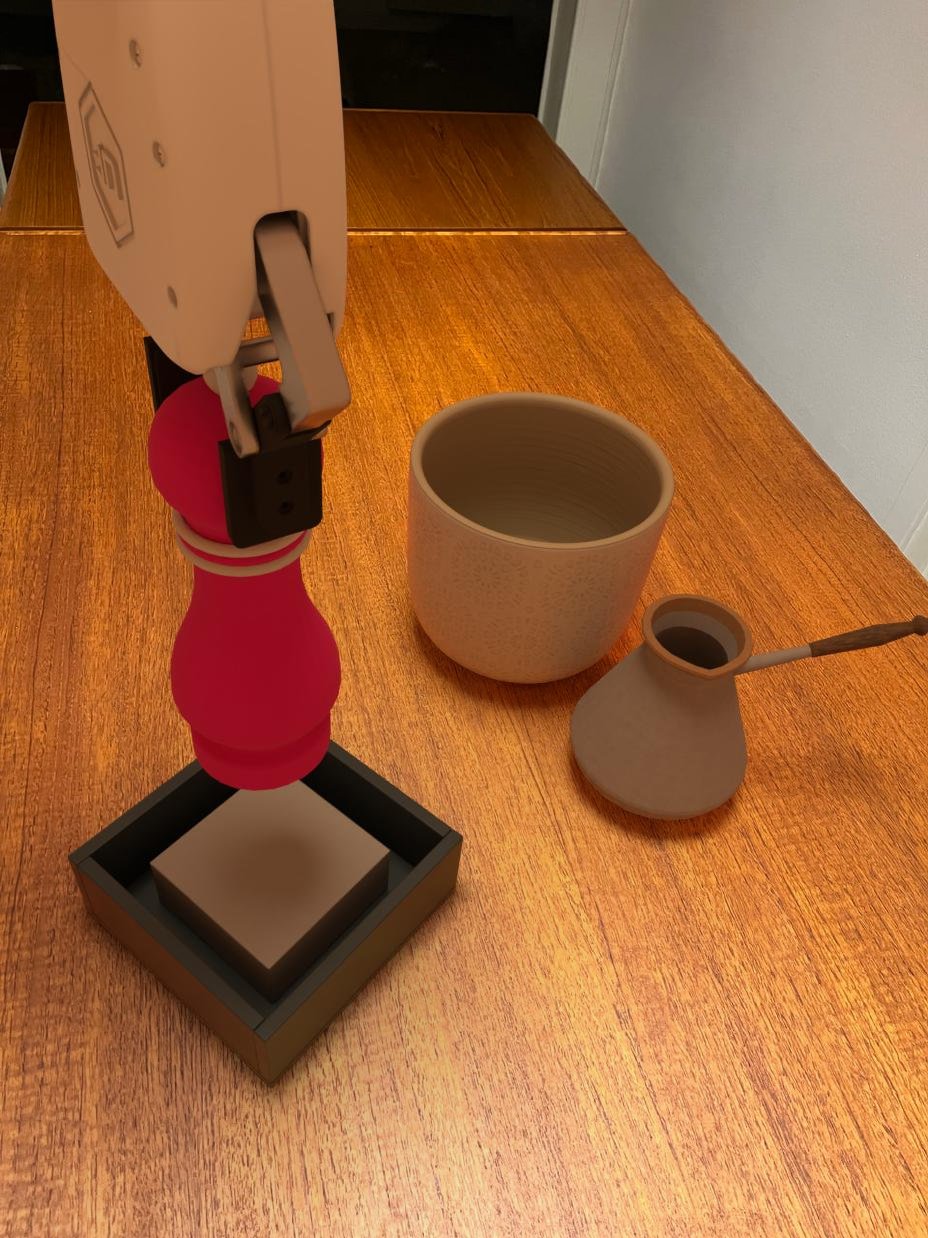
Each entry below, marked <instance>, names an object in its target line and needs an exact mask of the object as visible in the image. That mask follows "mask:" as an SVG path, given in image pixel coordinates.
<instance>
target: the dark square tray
mask: <svg viewBox="0 0 928 1238" xmlns="http://www.w3.org/2000/svg"><path fill="white" fill-rule="evenodd" d="M299 780H300V781H301V782H302V783H304V784H305V785H306V786H307V787H309V788H310V789H311V790H313V791H314V792H315V793H317V794H318V795H319V796H320V797H322V798H323V799H324V800H326V801H327V802H328V803H329V804H331V805H332V806H333V807H335V808H336V809H337V810H339V811H340V812H341V813H342V814H344V815H345V816H346V817H348V818H349V819H350V820H352V821H353V822H354V823H355V824H357V825H358V826H359V827H361V828H362V829H363V830H364V831H366V832H367V833H368V834H370V835H371V836H372V837H374V838H375V839H376V840H377V841H379V842H380V843H381V844H383V845H384V846H385V847H387V848H388V849H389V850H390V862H389V878H388V888H387V889H386V890H385V891H384V892H383V893H382V894H381V896H380V897H379V898H378V899H377V900H376V901H375V902H374V903H373V904H372V905H371V906H370V907H369V908H368V909H367V910H366V911H365V912H364V913H363V914H362V915H361V916H360V917H359V918H358V919H357V920H356V921H355V922H354V923H353V924H352V925H351V926H350V927H349V928H348V929H347V930H346V931H345V932H344V933H343V934H342V935H341V936H340V937H339V938H338V939H337V940H336V941H335V942H334V943H333V944H332V945H331V946H330V947H329V948H328V949H327V950H326V951H325V952H324V953H323V954H322V955H321V956H320V957H319V958H318V959H317V960H316V961H315V962H314V963H313V964H312V965H311V966H310V967H309V968H308V969H307V970H306V971H305V972H304V973H303V974H302V975H301V976H300V977H299V978H298V979H297V980H296V981H295V982H294V983H293V984H292V985H291V987H290V988H289V989H288V990H287V991H286V992H285V993H284V994H283V995H282V996H281V997H280V998H279V999H278V1000H277V1001H276V1002H275V1003H274V1004H272V1003H271V1002H269V1001H268V1000H267V999H266V998H265V997H264V996H263V995H262V994H261V993H260V992H259V991H257V990H256V989H255V988H254V987H253V986H252V985H251V984H250V983H249V982H248V981H246V980H245V979H244V978H243V977H242V976H241V975H240V974H239V973H238V972H237V971H236V970H234V969H233V968H232V967H231V966H230V965H229V964H228V963H227V962H226V961H225V960H224V959H222V958H221V957H220V956H219V955H218V954H217V953H216V952H215V951H214V950H213V949H212V948H210V947H209V946H208V945H207V944H206V943H205V942H204V941H203V940H202V939H201V938H199V937H198V936H197V935H196V934H195V933H194V932H193V931H192V930H191V929H190V928H189V927H187V926H186V925H185V924H184V923H183V922H182V921H181V920H180V919H179V918H178V917H177V916H175V915H174V914H173V913H172V912H171V911H170V910H169V909H168V908H167V907H166V906H164V905H163V904H162V903H161V902H160V900H159V896H158V892H157V888H156V885H155V881H154V877H153V873H152V869H151V865H150V862H151V861H153V860H154V859H155V858H156V857H158V856H159V855H160V854H161V853H162V852H164V851H165V850H166V849H167V848H169V847H170V846H171V845H172V844H174V843H175V842H176V841H177V840H178V839H180V838H181V837H182V836H183V835H185V834H186V833H187V832H188V831H190V830H191V829H192V828H193V827H195V826H196V825H197V824H198V823H199V822H201V821H202V820H203V819H204V818H206V817H207V816H208V815H209V814H211V813H212V812H213V811H214V810H216V809H217V808H218V807H219V806H220V805H222V804H223V803H224V802H225V801H227V800H228V799H229V798H230V797H232V796H233V795H234V794H235V793H237V792H238V791H239V790H240V789H237V788H234V787H231V786H229V785H226V784H224V783H221V782H219V781H218V780H216V779H215V778H213V777H212V776H211V775H210V774H208V773H207V772H206V771H205V770H204V768H203V767H202V766H201V765H200V763H199V761H198V760H197V757H195V759H194V760H193V761H190V763H188V764H187V765H186V766H185V767H183V768H182V769H180V770H179V771H178V772H177V773H175V774H173V775H172V776H171V777H170V778H168V779H167V780H166V781H164V783H162V784H161V785H159V786H158V787H157V788H156V789H154V790H152V792H150V793H149V794H148V795H146V796H145V797H144V798H142V799H140V801H139V802H137V803H136V804H134V805H133V806H131V808H129V809H128V810H127V811H125V812H124V813H122V814H121V815H120V816H118V817H117V818H116V819H115V820H113V821H112V822H111V823H109V824H107V826H105V827H104V828H103V829H102V830H100V831H99V832H97V833H96V834H95V835H93V836H92V837H91V838H90V839H87V841H86V842H84V843H83V844H82V845H80V846H78V848H76V849H75V850H74V851H72V852H71V853H70V854H69V855H67V860H68V862H69V865H70V867H71V870H72V873H73V876H74V878H75V882H76V884H77V887H78V890H79V892H80V895H81V898H82V900H83V903H84V906H85V909H86V912H87V913H88V914H89V915H90V916H92V918H94V919H95V920H96V922H98V923H99V924H100V925H101V926H102V927H103V928H104V929H105V930H106V931H107V932H108V933H109V934H110V935H111V936H113V938H115V940H117V942H119V943H120V944H121V945H122V946H123V948H125V949H126V950H127V951H128V952H129V953H130V954H131V955H132V956H133V957H134V958H135V959H136V960H137V961H138V962H139V963H140V964H141V965H142V966H144V967H145V968H146V969H147V970H148V972H150V973H151V974H152V976H154V977H155V978H156V979H157V980H158V981H159V982H160V983H161V984H162V985H163V986H164V987H165V988H166V989H168V991H170V992H171V994H173V996H175V997H176V999H178V1000H179V1002H181V1003H182V1005H184V1006H185V1007H186V1008H187V1009H188V1010H189V1011H190V1012H191V1013H192V1014H193V1015H194V1016H196V1018H198V1020H199V1021H200V1022H202V1023H203V1024H204V1025H205V1026H206V1027H207V1028H208V1029H209V1030H210V1031H211V1032H212V1033H213V1034H214V1035H215V1036H216V1037H217V1038H218V1039H219V1040H220V1041H221V1042H222V1043H223V1044H224V1045H225V1046H227V1048H228V1049H230V1051H231V1052H233V1053H234V1054H235V1055H236V1056H237V1057H238V1058H239V1059H240V1060H241V1061H242V1062H243V1063H244V1064H245V1065H246V1066H247V1067H248V1068H249V1069H250V1070H251V1071H252V1072H253V1073H254V1074H255V1075H257V1076H258V1077H259V1078H260V1079H261V1080H262V1082H264V1083H265V1084H266V1085H267V1086H268V1087H269V1088H271V1089H272V1088H274V1086H276V1084H277V1083H278V1082H279V1081H280V1080H281V1079H282V1078H283V1077H284V1075H286V1074H287V1072H288V1071H289V1070H290V1069H291V1068H292V1067H293V1066H294V1065H295V1063H297V1062H298V1060H299V1059H300V1058H301V1057H302V1056H303V1055H304V1054H305V1053H306V1052H307V1051H308V1050H309V1049H310V1047H312V1045H313V1044H314V1043H315V1042H316V1041H317V1040H318V1039H319V1038H320V1037H321V1035H322V1034H323V1033H324V1032H325V1031H326V1030H327V1029H328V1028H329V1027H330V1026H331V1025H332V1024H333V1022H335V1020H336V1019H337V1018H338V1017H340V1015H341V1014H342V1013H343V1012H344V1011H345V1009H347V1008H348V1006H350V1005H351V1003H352V1002H353V1001H354V1000H355V999H356V998H357V996H359V995H360V993H361V992H362V991H363V990H364V989H365V988H366V987H367V986H368V985H369V983H371V982H372V981H373V980H374V978H376V976H377V975H378V974H379V973H380V972H381V971H382V970H383V969H384V968H385V967H386V965H387V964H388V963H389V962H390V961H391V960H392V959H393V958H394V957H395V956H396V955H397V954H398V952H400V950H401V949H402V948H403V947H404V946H405V945H406V944H407V943H408V941H410V940H411V938H413V936H414V935H415V934H416V933H417V932H418V931H419V930H420V929H421V927H423V925H425V923H426V922H427V921H428V920H429V919H430V918H431V917H432V916H433V915H434V914H435V913H436V912H437V910H438V909H439V908H440V907H441V906H442V905H443V904H444V903H445V902H446V900H447V899H448V898H449V897H450V896H451V895H452V894H453V893H454V892H455V891H456V889H457V881H458V875H459V873H458V872H459V869H460V864H461V863H460V862H461V857H462V850H463V842H464V836H463V835H462V834H461V833H460V832H458V831H457V830H455V829H454V828H453V827H451V826H450V825H449V824H447V823H446V822H444V821H443V820H442V819H440V818H439V817H437V816H436V815H435V814H433V812H431V811H429V809H427V808H425V807H424V806H423V805H421V803H419V802H417V801H416V800H415V799H413V798H412V797H410V796H409V795H408V794H406V793H405V792H404V791H403V790H400V789H399V788H398V787H397V786H396V785H394V784H393V783H392V782H390V781H389V780H387V779H386V778H385V777H383V776H381V775H380V774H379V773H378V772H376V771H375V770H374V769H372V768H371V767H369V766H368V764H365V763H364V762H363V761H362V760H360V759H359V758H357V757H356V756H355V755H353V754H352V753H350V752H349V751H348V750H347V749H345V748H344V747H342V746H341V745H340V744H338V743H337V742H336V741H334V740H333V739H331V738H330V743H329V746H328V749H327V752H326V754H325V755H324V757H323V759H322V760H321V762H320V763H319V764H318V765H317V766H316V767H315V768H314V769H313V770H312V771H311V772H310V773H308V774H307V775H306V776H304V777H303V778H301V779H299Z"/></svg>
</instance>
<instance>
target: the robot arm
mask: <svg viewBox="0 0 928 1238" xmlns="http://www.w3.org/2000/svg"><path fill="white" fill-rule="evenodd" d="M51 5H52V13H53V21H54V29H55V30H54V31H55V38H56V45H57V53H58V59H59V66H60V67H59V68H60V73H61V80H62V88H63V95H64V102H65V109H66V117H67V121H68V130H69V137H70V143H71V144H70V145H71V152H72V156H73V157H72V158H73V165H74V172H75V179H76V185H77V193H78V199H79V206H80V212H81V218H82V225H83V230H84V233H85V236H86V239H87V240H86V241H87V243H88V245H89V247H90V250H91V252H92V254H93V256H94V258H95V259H96V261H97V262H98V263H97V264H98V265H99V266H100V267H101V269H102V270H103V272H104V273H105V275H106V276H107V278H108V279H109V280H110V282H111V283H112V285H113V286H114V288H115V289H116V290H117V292H118V293H119V295H120V296H121V298H122V299H123V300H124V302H125V303H126V304H127V306H128V307H129V309H130V310H131V311H132V313H133V314H134V315H135V317H136V318H137V319H138V321H139V322H140V323H141V325H142V326H143V328H144V330H145V331H146V332H147V333H148V334H149V335H146V336H142V339H143V346H144V353H145V361H146V366H147V372H148V379H149V385H150V392H151V398H152V405H153V410H154V411H153V412H154V415H155V414H156V412H157V410H158V409H159V407H160V406H161V405H162V403H163V402H164V400H165V399H166V398H168V397H169V396H170V395H171V394H172V393H173V392H174V391H176V390H177V389H178V388H179V387H180V386H181V385H183V384H185V383H188V382H190V381H192V380H194V379H196V378H199V377H201V376H203V374H205V373H208V371H209V368H214V372H215V376H216V381H217V385H218V390H219V394H220V399H221V403H222V408H223V412H224V417H225V421H226V425H227V430H228V434H229V438H228V439H226V440H222V441H218V451H219V460H220V470H221V479H222V488H223V498H224V507H225V516H226V526H227V534H228V537H229V538H230V540H231V541H232V543H233V544H234V546H235V547H237V548H239V549H244V548H248V547H252V546H255V545H258V544H262V543H265V542H268V541H272V540H275V539H278V538H282V537H285V536H288V535H292V534H295V533H298V532H302V531H305V530H309V529H312V530H313V529H314V528H317V526H320V524H321V523H322V520H323V517H324V513H323V472H322V452H321V438H322V439H323V438H325V437H326V436H327V435H328V427H329V426H330V425H331V423H332V422H333V419H334V418H336V417H337V416H338V415H340V414H341V413H342V412H343V411H345V410H346V409H347V408H349V407H350V405H351V402H352V392H351V387H350V382H349V379H348V377H347V374H346V373H347V372H346V370H345V367H344V364H343V360H342V358H341V355H340V351H339V349H338V346H337V342H336V340H337V339H338V337H339V336H340V333H341V331H342V328H343V326H344V325H343V324H344V320H345V311H346V302H347V301H346V300H347V285H348V284H347V281H348V280H347V279H348V208H347V207H348V202H347V177H346V175H347V174H346V173H347V172H346V153H345V135H344V133H345V132H344V118H343V117H344V116H343V102H342V89H341V88H342V86H341V74H340V73H341V72H340V62H339V61H340V59H339V49H338V38H337V37H338V36H337V27H336V16H335V6H334V0H51ZM262 318H263V319H265V322H266V325H267V327H268V332H269V334H268V335H262V336H257V337H253V338H252V337H251V338H247V339H243V338H244V335H245V333H246V329H247V328H248V323H249V321H251V320H257V319H262ZM275 362H279V365H280V369H281V381H280V385H279V386H278V389H279V390H278V391H277V392H275V393H271V394H266V395H264V396H263V397H262V398H261V399H260V400H259V401H258V402H257V403H256V404H255V405H254V407H253V408H252V406H251V401H250V396H249V392H248V387H247V382H246V377H245V373H244V369H243V368H246V367H251V366H256V365H257V366H260V365H265V364H270V363H275Z"/></svg>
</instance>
